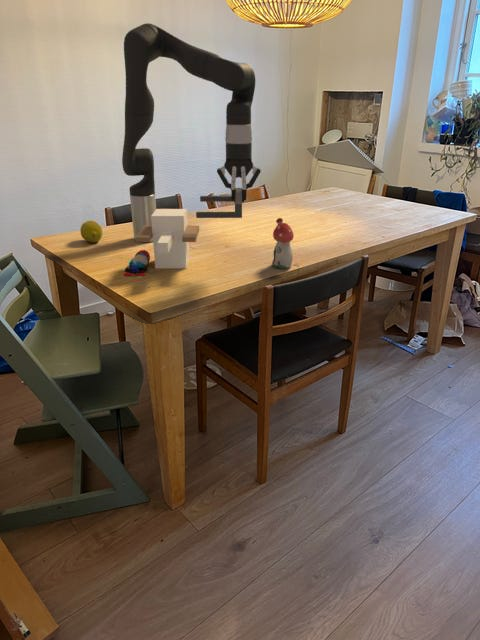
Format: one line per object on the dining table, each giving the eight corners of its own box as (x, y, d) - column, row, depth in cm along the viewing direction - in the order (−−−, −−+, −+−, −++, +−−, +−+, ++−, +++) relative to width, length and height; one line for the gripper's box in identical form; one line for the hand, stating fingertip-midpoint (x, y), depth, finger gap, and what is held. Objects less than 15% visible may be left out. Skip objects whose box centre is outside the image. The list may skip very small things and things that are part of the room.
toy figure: (146, 281, 148) (156, 258, 160) (143, 267, 145) (154, 245, 157) (122, 282, 149) (135, 259, 161) (119, 268, 146) (132, 246, 158)
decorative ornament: (271, 260, 161) (272, 216, 154) (290, 260, 161) (292, 216, 154) (272, 270, 152) (274, 223, 146) (293, 270, 152) (295, 223, 146)
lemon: (105, 244, 179) (102, 223, 175) (83, 246, 176) (80, 225, 173) (101, 237, 188) (98, 216, 184) (80, 239, 185) (77, 218, 182)
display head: (148, 258, 163) (144, 208, 156) (201, 258, 163) (199, 208, 156) (135, 281, 143) (129, 225, 136) (195, 281, 143) (192, 225, 136)
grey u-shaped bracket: (196, 218, 136) (195, 204, 133) (200, 200, 149) (199, 187, 147) (242, 217, 135) (241, 204, 133) (242, 200, 149) (241, 187, 147)
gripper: (262, 140, 141) (261, 199, 148) (215, 140, 141) (216, 199, 148) (263, 142, 134) (261, 204, 141) (214, 142, 134) (215, 204, 141)
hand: (238, 201), depth 145 cm, fingers closed on grey u-shaped bracket, 2 cm apart
